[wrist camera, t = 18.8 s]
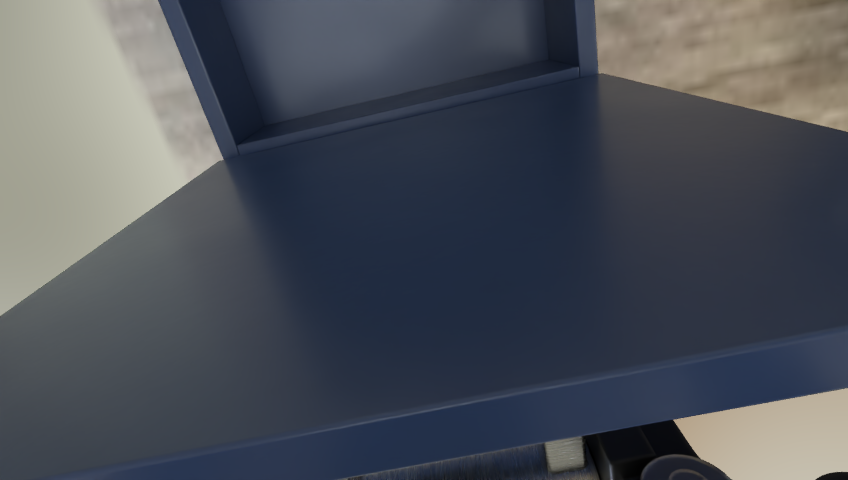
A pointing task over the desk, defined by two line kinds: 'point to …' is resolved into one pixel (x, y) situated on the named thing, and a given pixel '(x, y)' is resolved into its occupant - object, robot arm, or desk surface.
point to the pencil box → (367, 60)
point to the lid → (444, 297)
